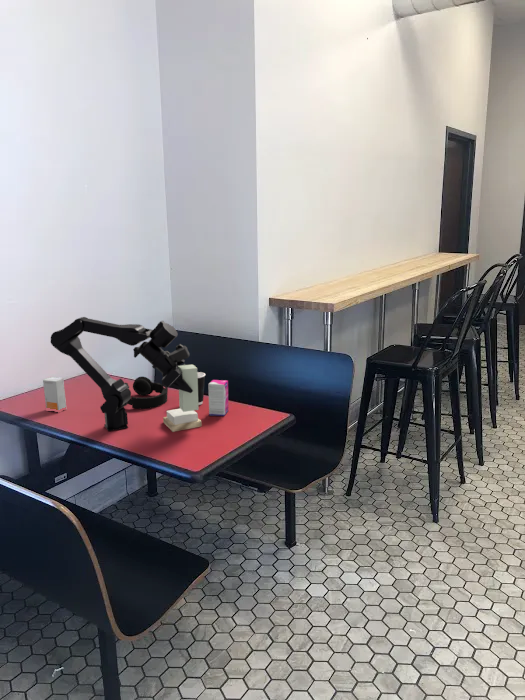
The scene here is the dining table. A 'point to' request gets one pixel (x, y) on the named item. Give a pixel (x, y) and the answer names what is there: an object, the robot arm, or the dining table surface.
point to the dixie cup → (200, 387)
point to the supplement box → (218, 397)
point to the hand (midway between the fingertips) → (192, 388)
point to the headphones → (145, 388)
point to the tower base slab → (181, 425)
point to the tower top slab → (181, 416)
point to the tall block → (190, 376)
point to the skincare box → (54, 393)
